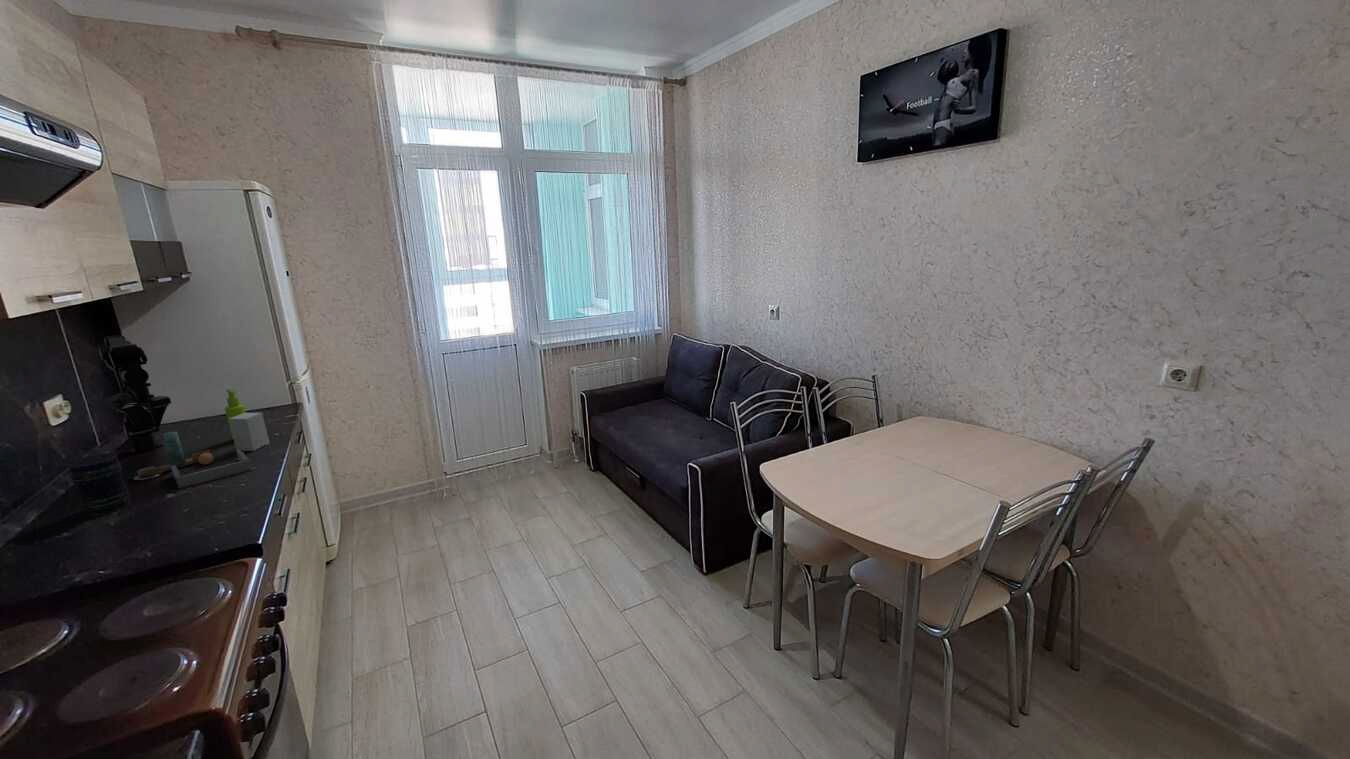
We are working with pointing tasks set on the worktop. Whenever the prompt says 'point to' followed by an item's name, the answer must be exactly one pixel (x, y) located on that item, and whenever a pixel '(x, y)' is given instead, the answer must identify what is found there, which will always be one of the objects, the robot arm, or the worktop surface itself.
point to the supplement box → (249, 431)
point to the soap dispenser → (233, 406)
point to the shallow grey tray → (212, 472)
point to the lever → (171, 456)
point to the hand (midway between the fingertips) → (147, 426)
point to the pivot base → (147, 477)
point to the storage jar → (99, 483)
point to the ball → (205, 458)
